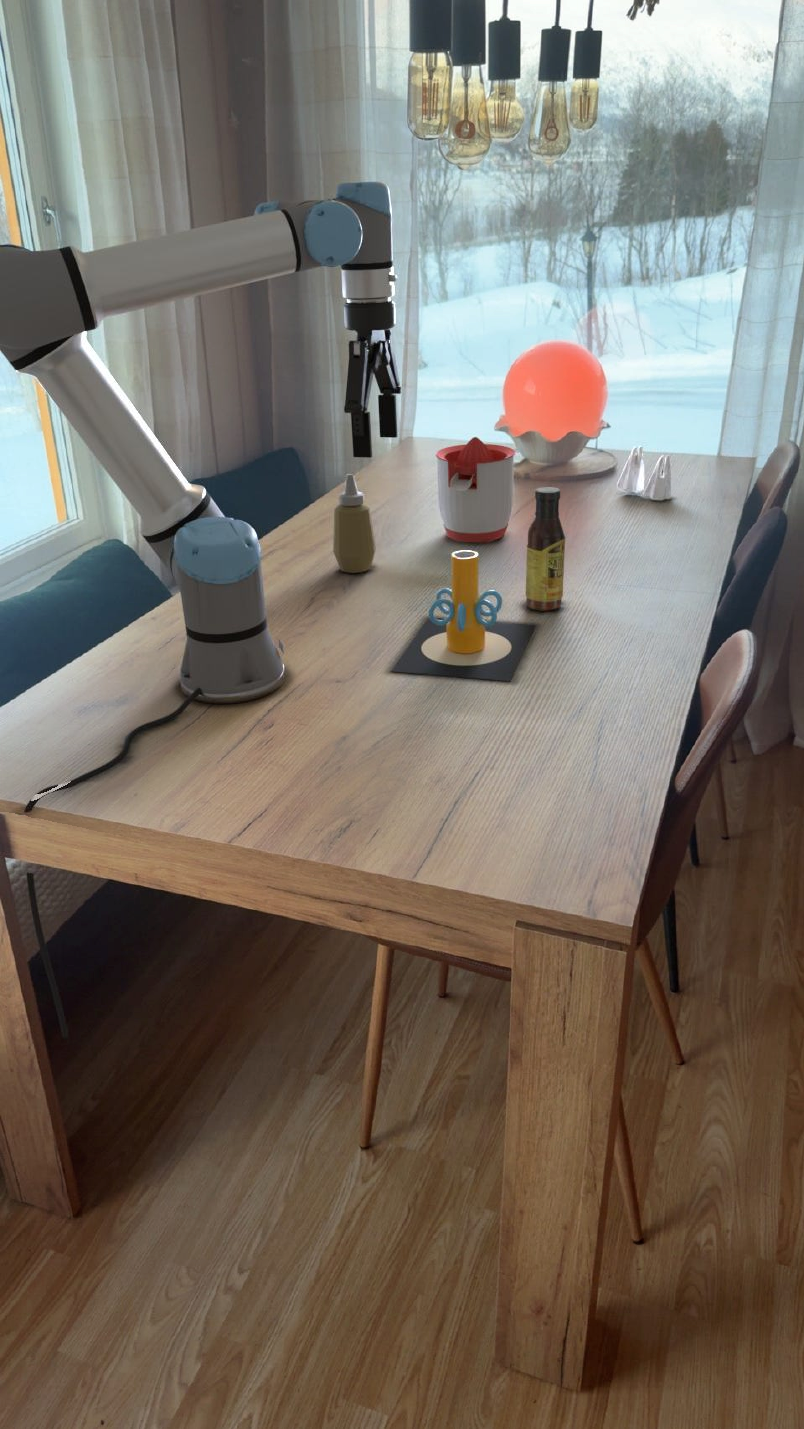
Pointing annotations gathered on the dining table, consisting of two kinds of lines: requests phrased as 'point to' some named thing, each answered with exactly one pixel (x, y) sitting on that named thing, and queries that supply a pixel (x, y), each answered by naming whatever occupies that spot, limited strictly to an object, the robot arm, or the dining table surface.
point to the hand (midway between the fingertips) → (376, 446)
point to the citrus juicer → (475, 490)
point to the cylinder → (465, 606)
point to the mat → (487, 664)
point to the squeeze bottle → (353, 530)
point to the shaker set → (634, 477)
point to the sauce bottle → (545, 553)
